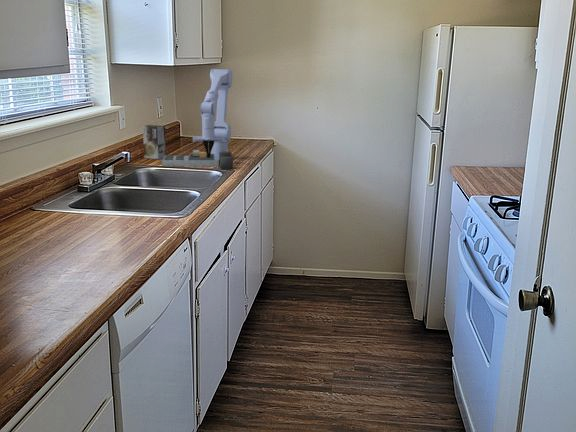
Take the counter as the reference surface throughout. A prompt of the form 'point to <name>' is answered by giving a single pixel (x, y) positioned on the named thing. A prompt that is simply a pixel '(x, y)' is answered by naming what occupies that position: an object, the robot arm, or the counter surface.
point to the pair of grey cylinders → (226, 160)
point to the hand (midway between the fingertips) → (208, 156)
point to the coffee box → (154, 141)
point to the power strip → (191, 160)
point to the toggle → (202, 154)
